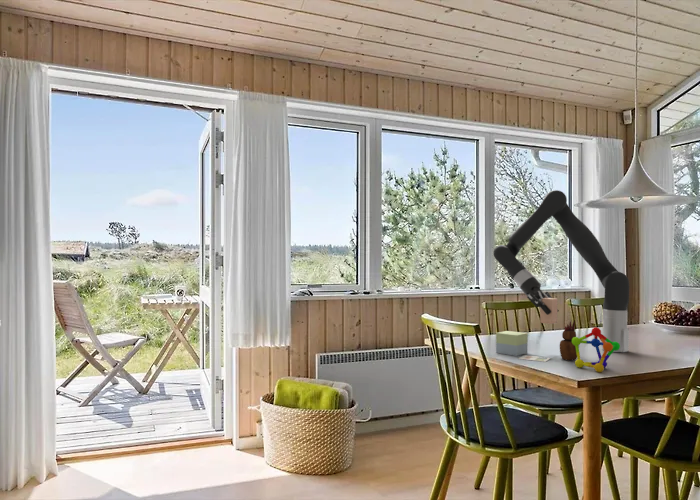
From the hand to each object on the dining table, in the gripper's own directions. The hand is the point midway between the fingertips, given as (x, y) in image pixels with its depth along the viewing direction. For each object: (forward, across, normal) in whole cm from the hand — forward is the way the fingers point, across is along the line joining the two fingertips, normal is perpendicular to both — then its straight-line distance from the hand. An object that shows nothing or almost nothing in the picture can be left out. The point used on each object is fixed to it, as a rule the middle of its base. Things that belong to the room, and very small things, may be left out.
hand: (553, 312), depth 227 cm
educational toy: (+30, -18, -6) cm, 35 cm away
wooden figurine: (+20, -10, +3) cm, 23 cm away
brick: (+2, 0, +4) cm, 5 cm away
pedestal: (+4, -15, +18) cm, 24 cm away
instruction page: (+13, -19, +9) cm, 25 cm away
